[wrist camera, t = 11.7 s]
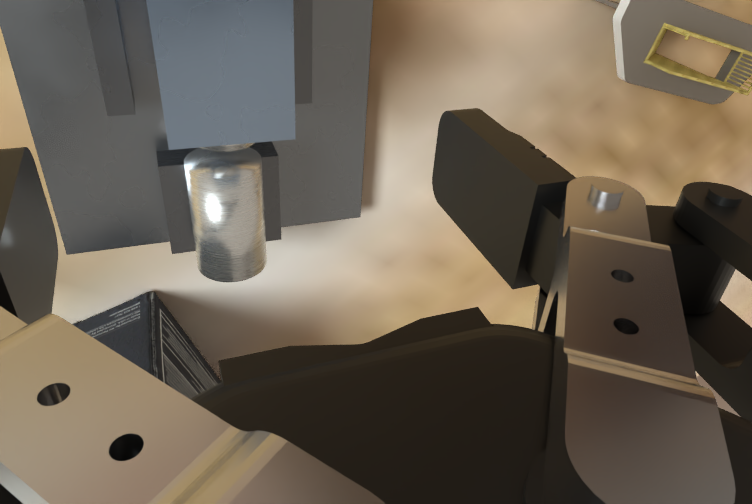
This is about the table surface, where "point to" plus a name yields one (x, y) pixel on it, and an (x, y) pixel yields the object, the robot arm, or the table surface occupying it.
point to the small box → (152, 343)
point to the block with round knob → (224, 71)
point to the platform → (668, 9)
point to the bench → (191, 165)
